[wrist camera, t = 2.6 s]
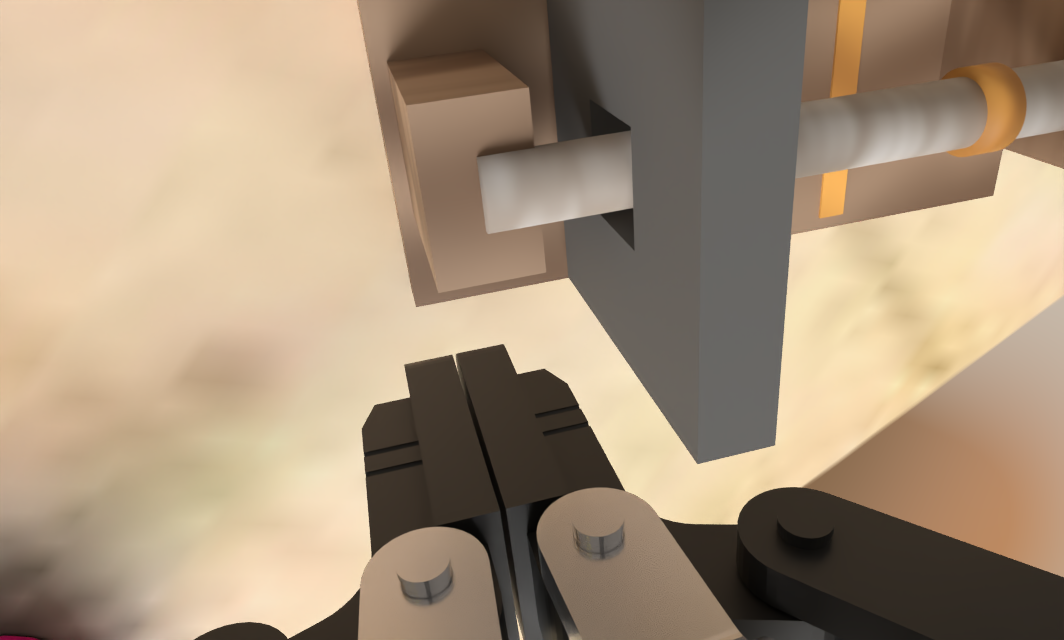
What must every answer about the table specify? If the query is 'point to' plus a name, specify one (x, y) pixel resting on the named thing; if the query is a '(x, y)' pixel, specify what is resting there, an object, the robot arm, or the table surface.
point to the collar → (690, 198)
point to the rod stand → (606, 160)
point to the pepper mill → (16, 638)
